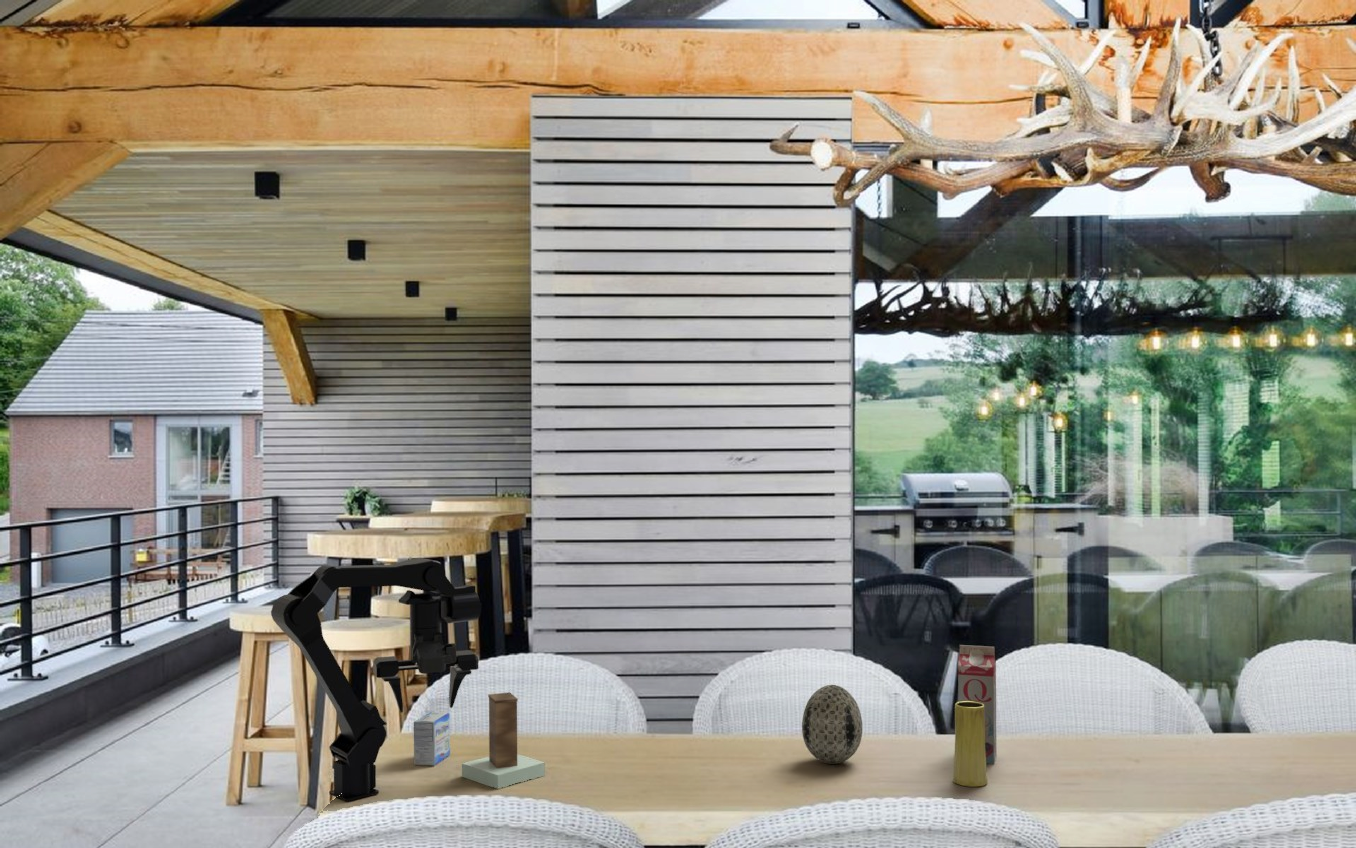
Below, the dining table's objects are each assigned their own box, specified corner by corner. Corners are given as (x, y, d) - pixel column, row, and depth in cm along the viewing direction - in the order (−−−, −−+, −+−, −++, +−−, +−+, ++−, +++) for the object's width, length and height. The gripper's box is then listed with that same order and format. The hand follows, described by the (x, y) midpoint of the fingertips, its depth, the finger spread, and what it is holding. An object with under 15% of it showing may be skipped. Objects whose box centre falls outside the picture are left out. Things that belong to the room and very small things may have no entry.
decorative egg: (790, 759, 230) (790, 683, 230) (839, 751, 235) (839, 676, 235) (824, 775, 220) (823, 695, 220) (875, 766, 225) (874, 688, 225)
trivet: (497, 789, 212) (497, 775, 212) (462, 776, 220) (462, 763, 220) (545, 775, 220) (544, 762, 220) (508, 764, 228) (508, 751, 228)
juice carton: (994, 764, 226) (993, 649, 226) (958, 761, 228) (958, 648, 228) (996, 754, 232) (995, 643, 232) (962, 752, 234) (961, 642, 234)
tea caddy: (495, 768, 217) (495, 701, 217) (488, 760, 222) (488, 694, 222) (518, 765, 218) (517, 698, 218) (510, 758, 223) (509, 692, 223)
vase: (962, 775, 219) (961, 699, 219) (993, 781, 215) (992, 703, 215) (947, 783, 214) (946, 705, 214) (978, 789, 210) (978, 710, 210)
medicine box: (434, 766, 227) (434, 722, 227) (413, 765, 228) (413, 721, 228) (450, 755, 235) (450, 712, 235) (429, 754, 235) (429, 711, 235)
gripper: (380, 637, 208) (381, 725, 207) (484, 629, 214) (485, 714, 214) (372, 627, 218) (372, 711, 218) (471, 620, 225) (472, 701, 225)
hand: (426, 709), depth 218 cm, fingers open, 9 cm apart
